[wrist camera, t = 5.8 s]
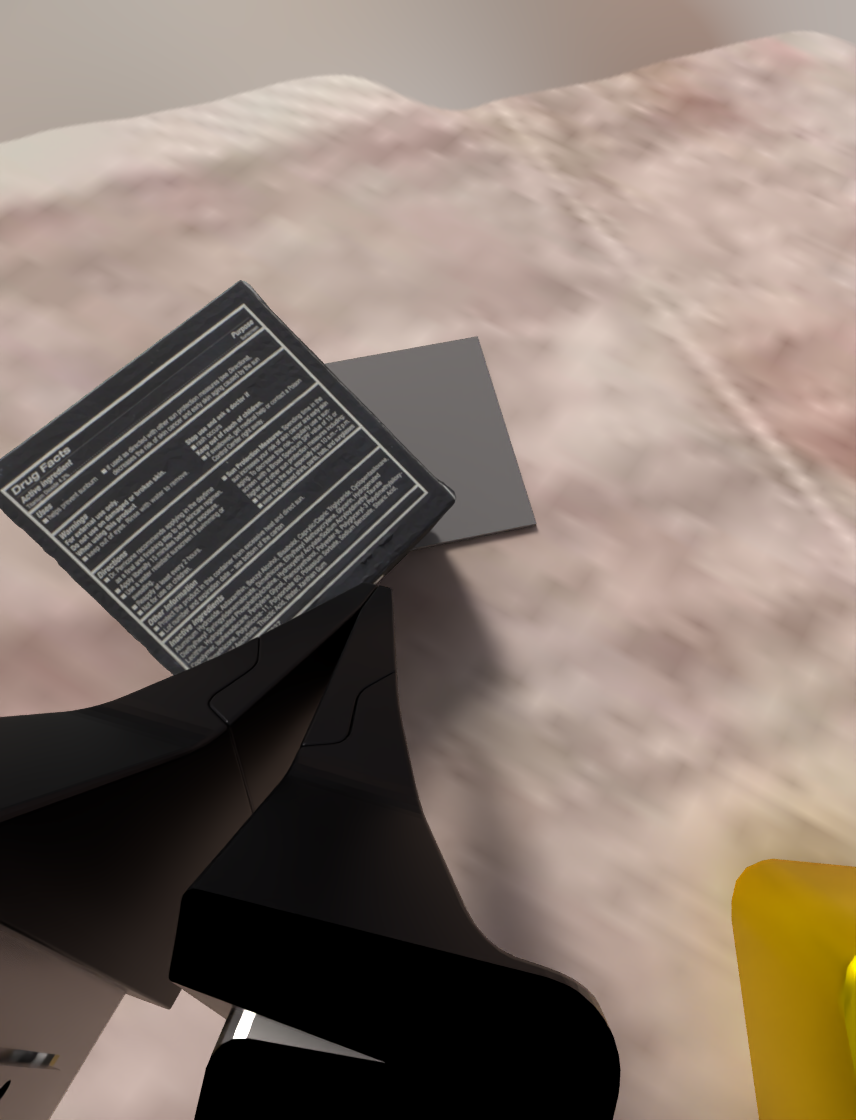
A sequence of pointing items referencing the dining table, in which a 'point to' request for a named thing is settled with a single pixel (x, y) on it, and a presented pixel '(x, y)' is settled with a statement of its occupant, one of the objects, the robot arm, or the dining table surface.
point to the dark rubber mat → (447, 431)
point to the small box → (220, 486)
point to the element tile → (799, 986)
